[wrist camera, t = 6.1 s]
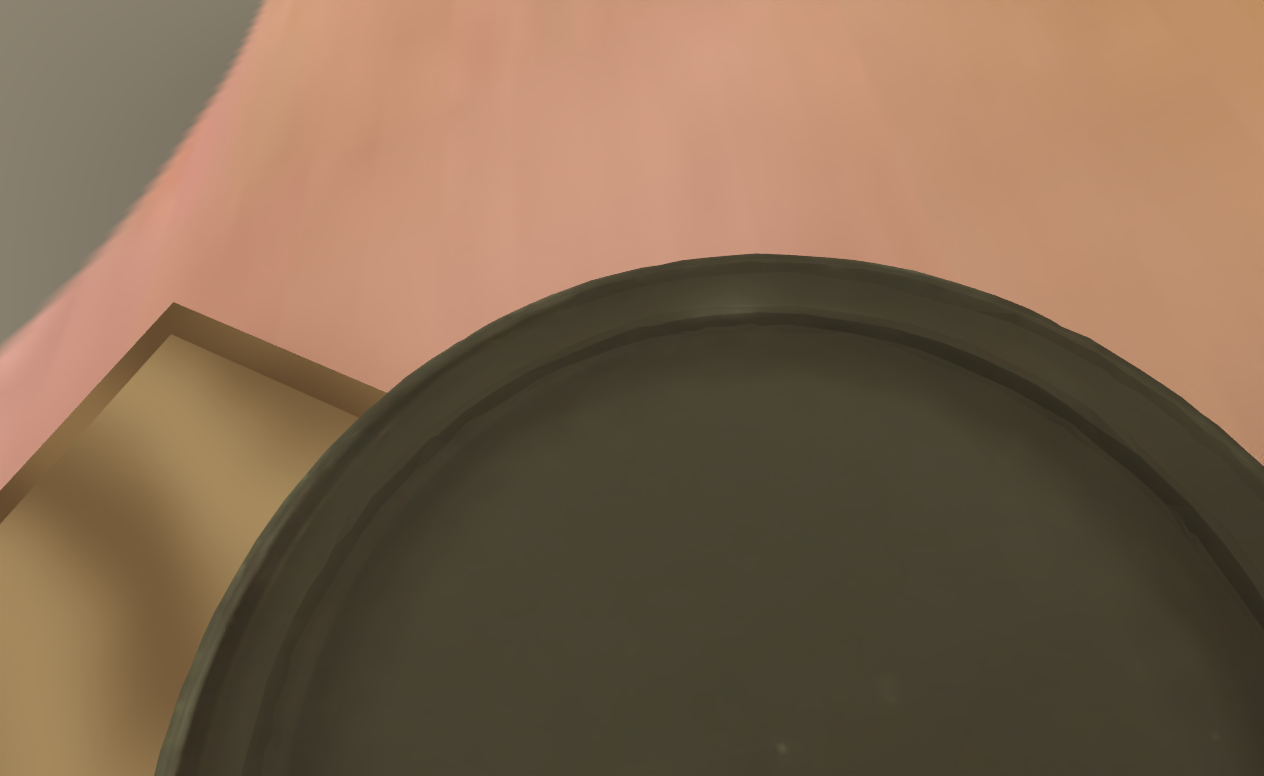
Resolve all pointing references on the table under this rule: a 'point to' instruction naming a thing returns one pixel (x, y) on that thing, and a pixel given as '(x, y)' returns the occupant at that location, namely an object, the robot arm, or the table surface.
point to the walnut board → (146, 535)
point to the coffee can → (751, 551)
